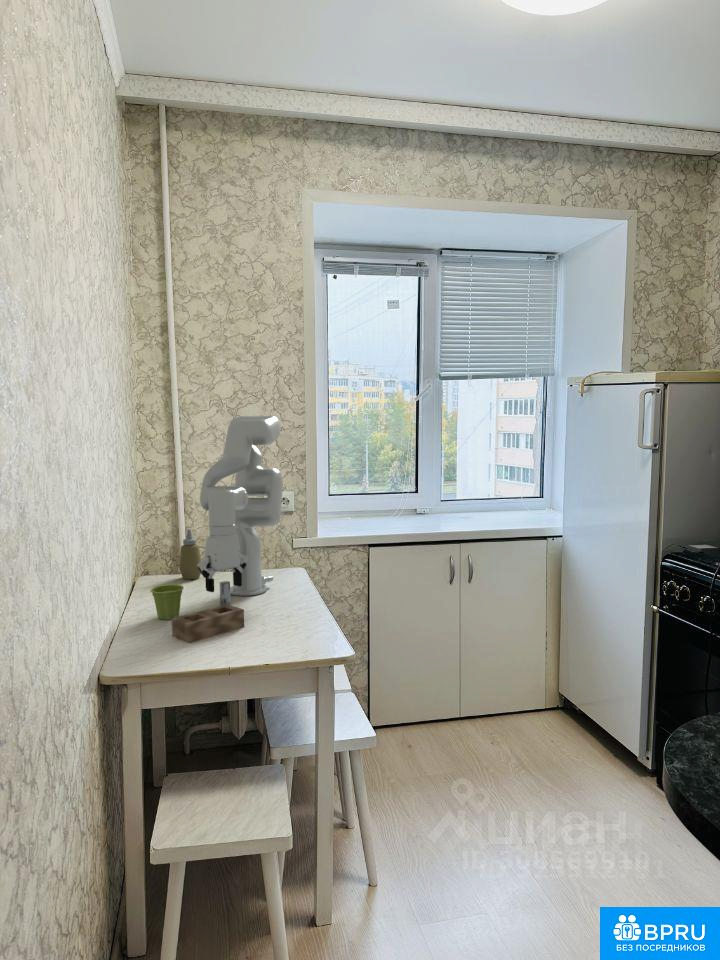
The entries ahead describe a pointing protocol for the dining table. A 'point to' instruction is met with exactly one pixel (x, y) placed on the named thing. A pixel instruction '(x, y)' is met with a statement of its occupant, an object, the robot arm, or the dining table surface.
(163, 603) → the plant pot
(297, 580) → the dining table surface
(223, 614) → the socket block
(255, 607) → the dining table surface
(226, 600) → the pin
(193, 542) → the squeeze bottle
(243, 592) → the robot arm
